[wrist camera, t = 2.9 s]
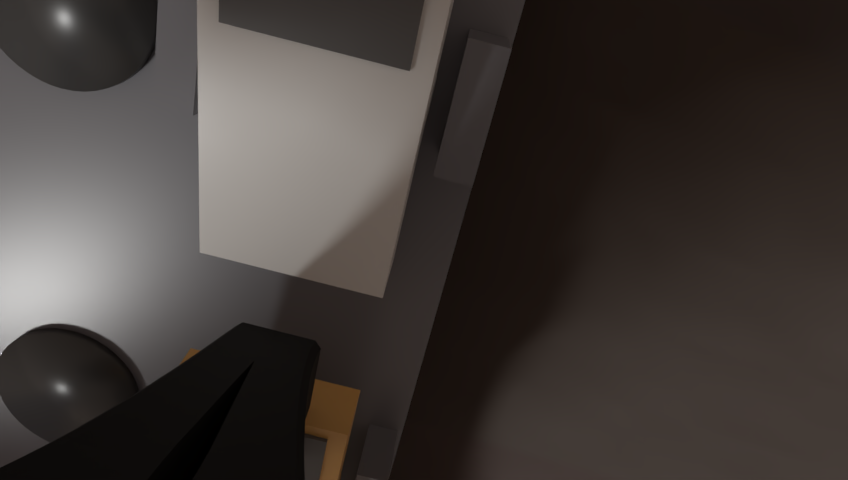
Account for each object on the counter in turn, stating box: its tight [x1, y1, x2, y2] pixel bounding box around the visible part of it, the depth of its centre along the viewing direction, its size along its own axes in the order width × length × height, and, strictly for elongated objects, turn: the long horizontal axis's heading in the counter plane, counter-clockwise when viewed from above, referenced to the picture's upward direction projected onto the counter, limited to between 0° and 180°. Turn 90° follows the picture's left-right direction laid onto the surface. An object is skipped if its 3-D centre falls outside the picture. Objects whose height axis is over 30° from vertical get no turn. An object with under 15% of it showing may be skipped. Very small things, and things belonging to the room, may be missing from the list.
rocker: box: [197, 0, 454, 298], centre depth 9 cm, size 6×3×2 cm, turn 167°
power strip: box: [0, 0, 525, 480], centre depth 14 cm, size 26×9×4 cm, turn 167°
